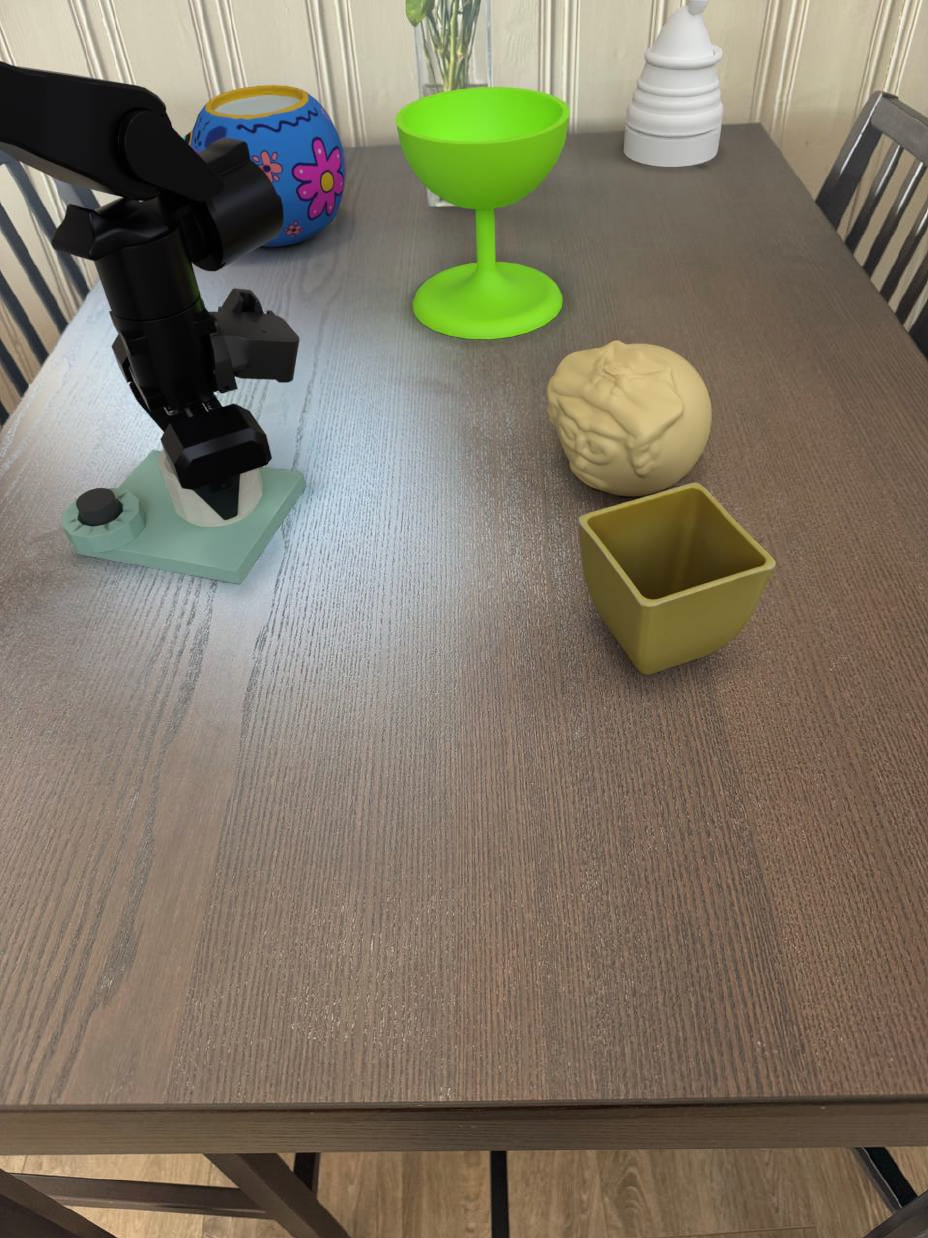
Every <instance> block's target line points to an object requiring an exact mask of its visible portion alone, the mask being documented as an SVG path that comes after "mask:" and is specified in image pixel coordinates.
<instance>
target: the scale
mask: <svg viewBox="0 0 928 1238" xmlns="http://www.w3.org/2000/svg"><path fill="white" fill-rule="evenodd" d="M161 452H162V450H156V449H152V450H150V452H149V453H148V455H146V456H145V458H144V459H143V460H142V461H141V462H140V463H139V464H138V466H137V467H136V468H135V469H133V471H132V472H131V473H130V474H129V475H128V476H127V478H126V479H125V480H124V481H123V482H122V483H121V484H120V486H118V487H108V488H107V489H110V490H111V491H112V492H113V493H114V495H115V497H116V500H117V502H118V504H119V507H120V509H121V513H120V516H119V517H118V518H117V519H116V520H114V521H112V522H110V523H108V524H105V525H100V526H94V527H92V526H88V525H86V524H85V523H84V522H83V519H82V517H81V515H80V513H79V511H78V509H77V507H76V501H77V499H78V498H75V500H73V501H72V502H71V503H70V504H69V505H68V507H66V508H65V509H64V511H63V512H62V514H61V515H62V516H61V523H60V527H61V528H62V530H63V533H64V534H65V536H66V538H67V541H68V542H69V543H70V544H71V545H72V547H73V548H74V551H75V552H76V554H77V555H80V556H86V557H92V558H97V559H103V560H108V561H114V562H118V563H123V564H129V565H135V566H138V567H139V566H141V567H146V568H149V569H150V568H151V569H156V570H161V571H167V572H171V573H177V574H182V575H188V576H192V577H193V576H194V577H199V578H203V579H209V580H214V581H220V582H226V583H230V584H234V585H235V584H236V585H241V584H242V582H243V581H244V580H245V578H246V577H247V575H248V574H249V572H250V571H251V569H252V568H253V566H254V565H255V564H256V562H257V560H258V559H259V557H260V556H261V554H262V553H263V552H264V550H265V549H266V547H267V546H268V544H269V543H270V541H271V540H272V538H273V537H274V535H275V534H276V532H277V530H278V529H279V527H280V526H281V525H282V523H283V522H284V520H285V519H286V517H287V516H288V514H289V513H290V511H291V510H292V508H293V507H294V505H295V504H296V502H297V501H298V499H299V498H300V496H301V495H302V493H303V492H304V490H305V489H306V487H307V484H306V479H305V474H304V472H301V471H294V470H289V469H282V468H281V469H280V468H275V467H267V466H263V467H260V468H259V470H260V474H261V478H262V482H263V495H262V497H261V498H260V501H259V504H258V505H257V507H256V508H255V510H254V511H253V512H252V513H250V514H249V515H248V516H246V517H245V518H243V519H241V520H239V521H237V522H235V523H232V524H229V525H225V526H220V527H200V526H196V525H193V524H191V523H189V522H187V521H186V520H185V519H183V518H182V517H180V516H178V515H177V514H176V512H175V510H174V508H173V506H172V503H171V501H170V498H169V495H168V492H167V490H166V487H165V484H164V482H163V479H162V476H161V473H160V471H159V468H158V459H159V455H160V453H161Z"/></svg>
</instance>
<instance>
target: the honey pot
mask: <svg viewBox="0 0 928 1238" xmlns="http://www.w3.org/2000/svg"><path fill="white" fill-rule="evenodd" d="M709 1H710V0H687V5H680V7H679V8H677V9H676V10H675V11H674V12H673V13H671V15H670V16H669V17H668V18H667V20H666V22H665V23H664V24H663V26H662V28H661V30H660V31H659V32H658V34H657V36H656V39H655V41H654V43H653V44H652V45H651V46H649V47H648V48H646V50H645V51H644V53H643V56H644V57H643V58H644V60H645V63H644V65H643V68H642V70H641V73H640V75H639V76H638V78H637V80H636V87H635V88H634V90H633V92H632V98H631V100H630V101H629V103H628V105H627V107H626V116H625V127H624V138H623V154H624V155H625V156H626V158H628V159H630V160H631V161H633V162H637V163H639V164H642V165H648V166H652V167H661V168H679V167H680V168H681V167H692V166H696V165H701V164H703V163H704V164H705V163H707V162H709V161H711V160H713V159H714V158H715V157H716V156H717V154H718V151H719V145H720V139H721V133H722V123H723V116H724V113H725V112H724V105H723V101H722V100H721V99H722V92H721V88H720V85H721V80H720V77H719V75H718V71H717V64H718V63H720V62H721V61H722V59H723V57H724V52H723V49H722V48H721V47H719V46H718V45H717V44H713V43H712V41H711V37H710V34H709V31H708V28H707V25H706V22H705V21H704V18H703V17H702V15H701V14H702V13H704V11H705V10H706V9H707V7H708V4H709Z"/></svg>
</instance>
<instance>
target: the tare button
mask: <svg viewBox="0 0 928 1238" xmlns="http://www.w3.org/2000/svg"><path fill="white" fill-rule="evenodd" d="M76 499H77V501H76V507H77V509H78V511H79V513H80V515H81V517H82V519H83V522H84V523H85V524H86V525H88V526H92V527H94V526H100V525H105V524H108V523H110V522H112V521H114V520H116V519H117V518H118V517H119V516H120V513H121V509H120V507H119V504H118V502H117V500H116V497H115V495H114V493H113V492H112V491H111V490H110V489H108V488H106V487H96V488H95V487H94V488H92V489H89V490H86V491H85V492H83V493H81V494H80V495H79V496H78V498H76Z"/></svg>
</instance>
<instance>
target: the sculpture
mask: <svg viewBox="0 0 928 1238" xmlns="http://www.w3.org/2000/svg"><path fill="white" fill-rule="evenodd" d="M554 372H555V373H554V375H552V377H550V378H549V380H548V382H547V386H546V398H547V402H548V406H547V409H546V413H547V416H548V421H549V423H550V424H551V425H552V426H554V427H555V430H556V434H557V436H558V440H559V442H560V444H561V447H562V449H563V451H564V454H565V456H566V458H567V460H568V462H569V469H570V471H571V472H572V473H573V474H574V475H575V476H576V477H577V478H578V479H579V480H580V481H582V483H584V484H585V485H587V486H588V487H590V488H592V489H595V490H599V491H602V492H605V493H608V494H611V495H614V496H619V497H632V498H633V497H645V496H650V495H653V494H656V493H660V492H663V491H665V490H667V489H669V488H670V487H672V486H674V485H675V484H677V483H678V482H680V481H681V480H682V479H684V478H685V476H686V475H687V474H688V473H689V472H690V471H692V469H693V467H694V466H695V465H696V463H697V462H698V461H699V459H700V457H701V456H702V454H703V452H704V450H705V448H706V445H707V442H708V440H709V437H710V433H711V429H712V418H713V415H712V413H713V412H712V403H711V398H710V393H709V391H708V388H707V386H706V384H705V382H704V380H703V378H702V376H701V375H700V374H699V372H698V371H697V369H695V367H694V366H693V364H691V363H690V362H689V361H688V360H686V358H684V357H683V356H681V355H680V354H678V353H676V352H675V351H673V350H671V349H670V348H669V349H668V348H666V347H663V346H660V345H656V344H652V343H651V344H650V343H627V344H626V343H624V342H623V341H621V340H618V339H615V340H612V341H611V342H608V343H607V344H605V345H603V346H601V347H595V348H588V349H582V350H577V351H573V352H571V353H568V354H567V355H566V356H565V357H564V358H563V359H562V360H561V361H560V363H559V364H558V366H557V368H556V369H555V371H554Z"/></svg>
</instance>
